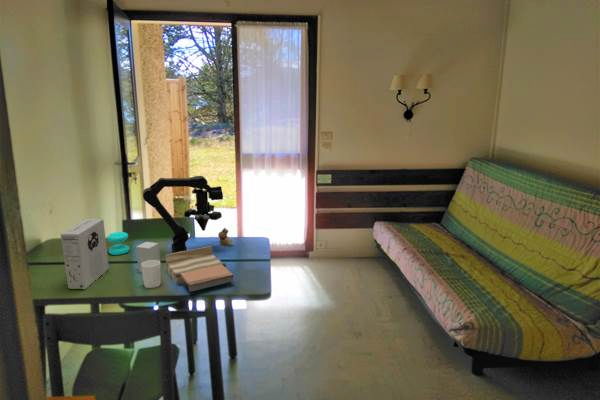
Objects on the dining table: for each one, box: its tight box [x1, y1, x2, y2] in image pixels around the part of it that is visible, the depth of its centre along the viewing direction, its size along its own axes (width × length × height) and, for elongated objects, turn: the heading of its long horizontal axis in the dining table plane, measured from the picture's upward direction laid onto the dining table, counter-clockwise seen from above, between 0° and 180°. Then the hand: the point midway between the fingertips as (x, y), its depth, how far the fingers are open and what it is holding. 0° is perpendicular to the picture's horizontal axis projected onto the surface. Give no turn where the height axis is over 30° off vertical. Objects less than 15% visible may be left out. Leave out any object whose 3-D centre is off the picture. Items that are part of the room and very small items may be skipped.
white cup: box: [141, 260, 162, 289], centre depth 185 cm, size 8×8×10 cm
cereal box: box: [60, 218, 110, 289], centre depth 189 cm, size 22×8×25 cm, turn 178°
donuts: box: [106, 231, 131, 256], centre depth 222 cm, size 10×10×10 cm
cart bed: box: [165, 245, 227, 285], centre depth 197 cm, size 18×23×8 cm
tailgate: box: [180, 265, 234, 292], centre depth 186 cm, size 3×19×13 cm
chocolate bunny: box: [217, 227, 234, 247], centre depth 234 cm, size 6×8×10 cm
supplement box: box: [135, 241, 162, 273], centre depth 200 cm, size 7×7×13 cm
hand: (203, 230), depth 221 cm, fingers closed
